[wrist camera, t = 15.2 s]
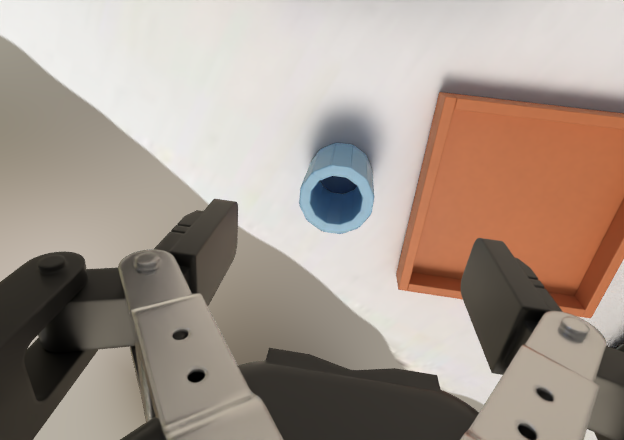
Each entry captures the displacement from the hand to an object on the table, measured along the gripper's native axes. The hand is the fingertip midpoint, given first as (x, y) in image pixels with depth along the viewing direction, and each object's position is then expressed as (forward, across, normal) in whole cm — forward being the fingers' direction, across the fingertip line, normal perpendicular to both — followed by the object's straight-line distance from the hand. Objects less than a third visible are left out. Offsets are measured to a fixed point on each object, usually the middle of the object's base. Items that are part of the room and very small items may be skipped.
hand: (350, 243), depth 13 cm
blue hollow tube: (+19, 0, +4) cm, 20 cm away
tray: (+19, -14, +5) cm, 24 cm away
